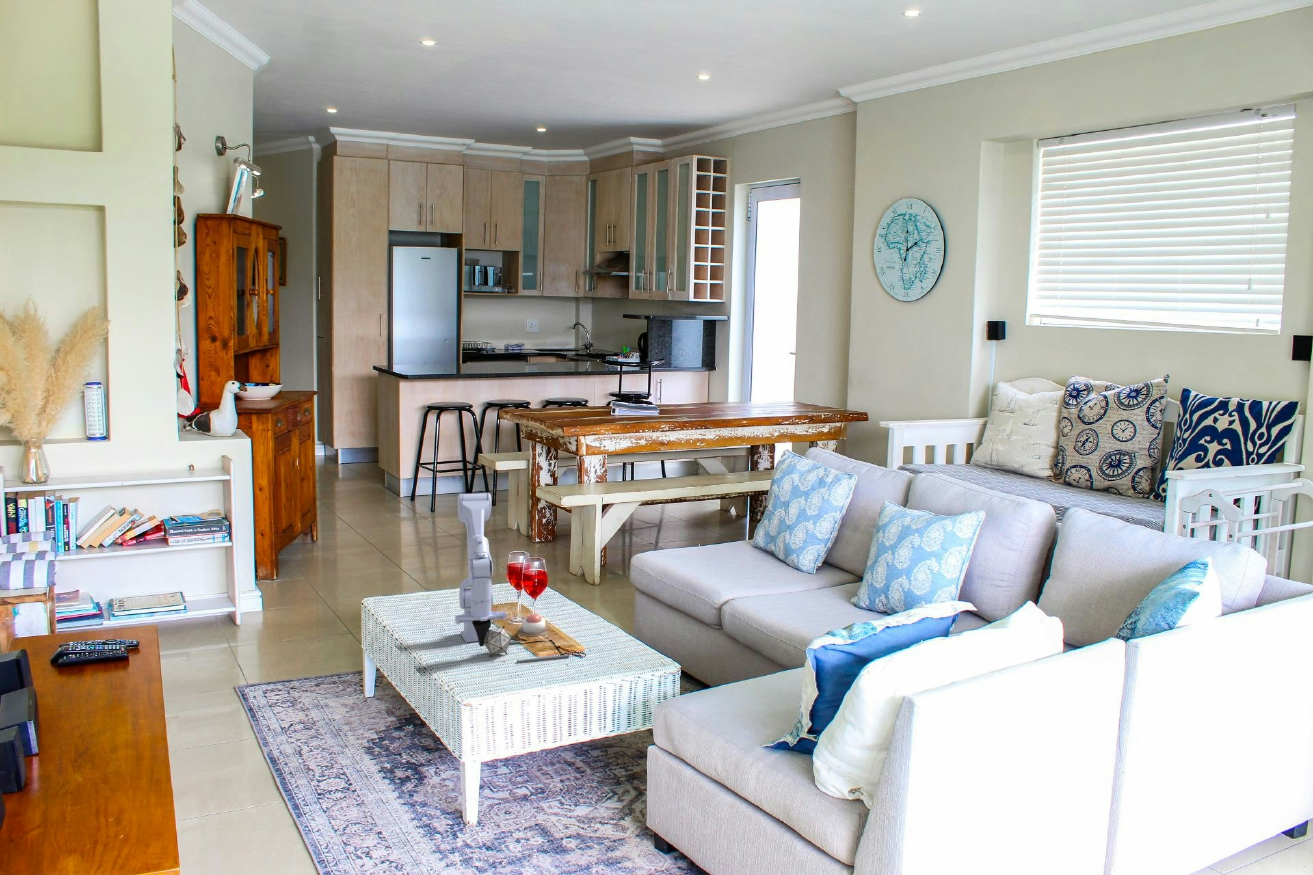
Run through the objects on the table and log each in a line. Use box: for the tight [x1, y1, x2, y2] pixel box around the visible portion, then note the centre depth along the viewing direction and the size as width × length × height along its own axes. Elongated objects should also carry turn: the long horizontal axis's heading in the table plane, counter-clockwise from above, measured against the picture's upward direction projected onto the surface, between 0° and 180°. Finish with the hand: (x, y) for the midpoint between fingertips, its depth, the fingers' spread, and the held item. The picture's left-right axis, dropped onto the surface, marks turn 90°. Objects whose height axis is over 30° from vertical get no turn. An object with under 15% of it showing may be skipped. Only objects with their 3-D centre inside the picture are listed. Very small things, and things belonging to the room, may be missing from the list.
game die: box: [484, 625, 514, 658], centre depth 302 cm, size 9×8×10 cm
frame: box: [509, 640, 570, 664], centre depth 306 cm, size 17×15×1 cm
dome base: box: [516, 626, 551, 637], centre depth 320 cm, size 10×10×2 cm
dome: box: [521, 613, 546, 634], centre depth 320 cm, size 7×7×5 cm
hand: (481, 645), depth 300 cm, fingers closed
